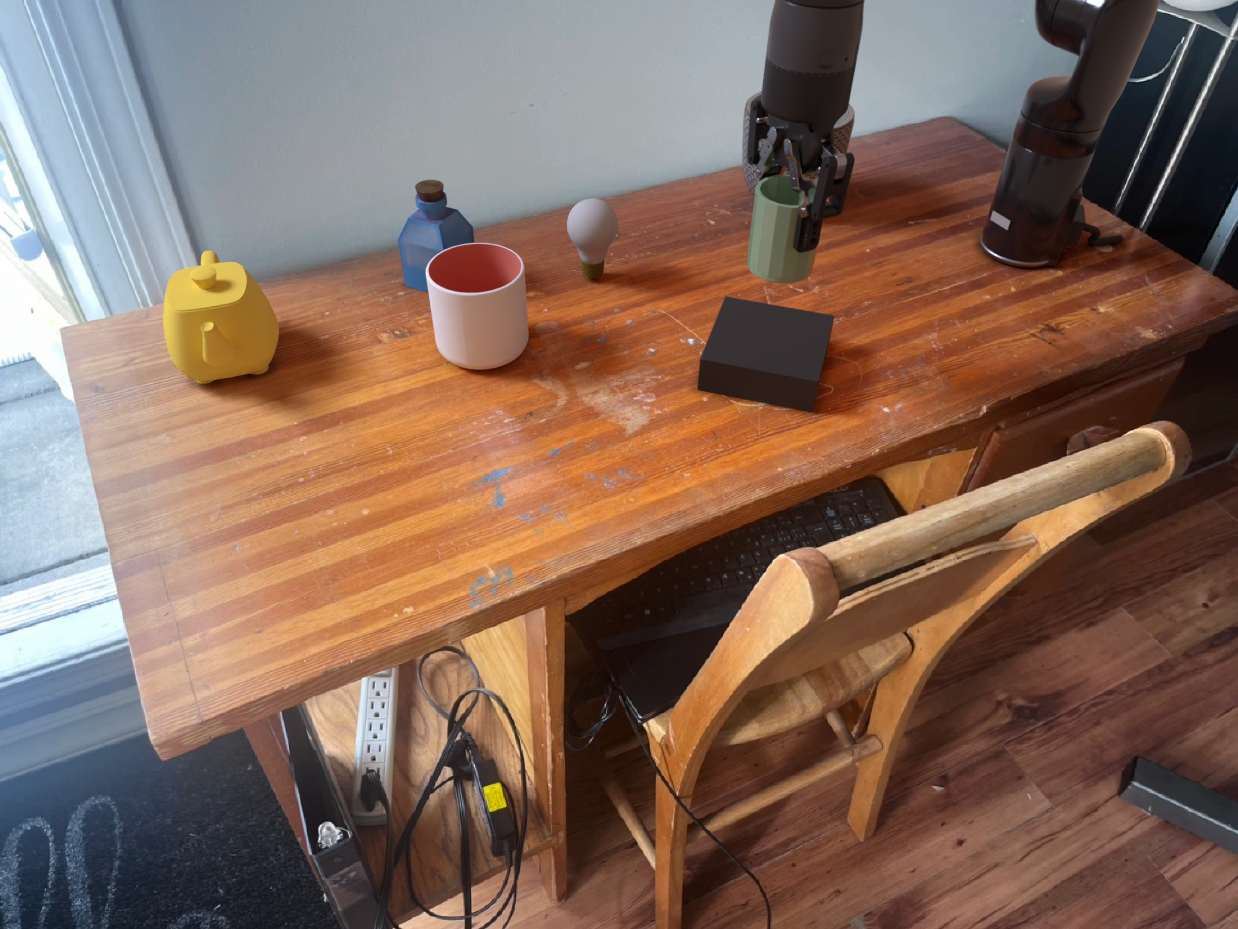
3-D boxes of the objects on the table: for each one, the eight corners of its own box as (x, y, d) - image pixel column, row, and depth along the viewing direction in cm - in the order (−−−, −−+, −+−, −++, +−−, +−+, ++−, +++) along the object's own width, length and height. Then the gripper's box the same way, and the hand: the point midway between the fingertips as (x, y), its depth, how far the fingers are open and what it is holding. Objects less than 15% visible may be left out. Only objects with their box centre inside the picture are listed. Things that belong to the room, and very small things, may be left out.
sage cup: (817, 254, 94) (830, 179, 88) (807, 288, 90) (820, 211, 84) (753, 244, 95) (763, 170, 90) (741, 277, 91) (749, 200, 85)
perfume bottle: (477, 273, 114) (468, 180, 105) (450, 298, 110) (437, 204, 101) (434, 261, 116) (421, 168, 107) (405, 286, 111) (389, 192, 103)
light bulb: (627, 277, 113) (629, 201, 107) (593, 297, 110) (592, 219, 103) (592, 259, 116) (591, 183, 109) (558, 277, 113) (555, 201, 106)
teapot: (291, 403, 95) (265, 315, 88) (176, 425, 93) (139, 335, 85) (279, 307, 108) (256, 223, 100) (177, 324, 105) (145, 238, 98)
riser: (828, 345, 104) (834, 315, 101) (812, 412, 96) (818, 381, 93) (722, 326, 106) (725, 295, 104) (697, 389, 98) (699, 358, 95)
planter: (728, 220, 124) (738, 124, 115) (741, 173, 134) (751, 81, 125) (834, 234, 122) (853, 137, 113) (840, 184, 131) (857, 91, 123)
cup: (514, 381, 99) (508, 300, 92) (423, 368, 100) (410, 287, 93) (539, 327, 106) (535, 248, 99) (454, 315, 107) (444, 237, 100)
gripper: (900, 77, 75) (860, 261, 86) (805, 19, 84) (781, 191, 96) (819, 90, 73) (789, 277, 84) (731, 29, 82) (715, 204, 94)
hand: (785, 231), depth 90 cm, fingers closed on sage cup, 6 cm apart
